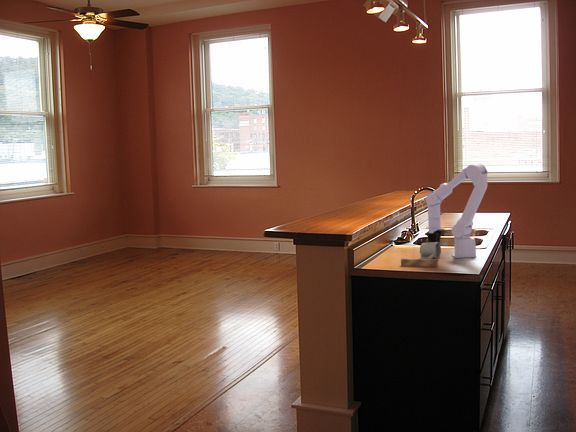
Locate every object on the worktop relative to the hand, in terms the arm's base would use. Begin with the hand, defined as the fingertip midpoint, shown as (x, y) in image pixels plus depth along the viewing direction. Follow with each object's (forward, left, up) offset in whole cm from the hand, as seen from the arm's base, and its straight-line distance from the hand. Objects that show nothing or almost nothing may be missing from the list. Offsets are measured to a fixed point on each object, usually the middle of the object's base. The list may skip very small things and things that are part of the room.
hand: (435, 246), depth 314 cm
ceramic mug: (+5, +9, -4) cm, 11 cm away
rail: (+13, +28, -4) cm, 31 cm away
